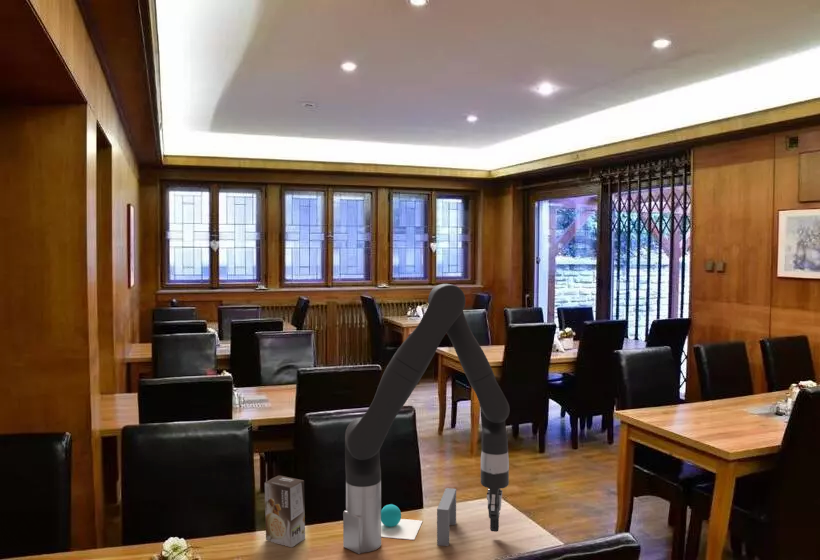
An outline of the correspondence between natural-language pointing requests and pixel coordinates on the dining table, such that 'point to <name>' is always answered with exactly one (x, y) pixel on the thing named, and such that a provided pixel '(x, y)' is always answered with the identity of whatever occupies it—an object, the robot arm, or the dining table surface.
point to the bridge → (446, 516)
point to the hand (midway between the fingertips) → (494, 530)
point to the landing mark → (402, 529)
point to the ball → (390, 515)
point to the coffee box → (285, 510)
